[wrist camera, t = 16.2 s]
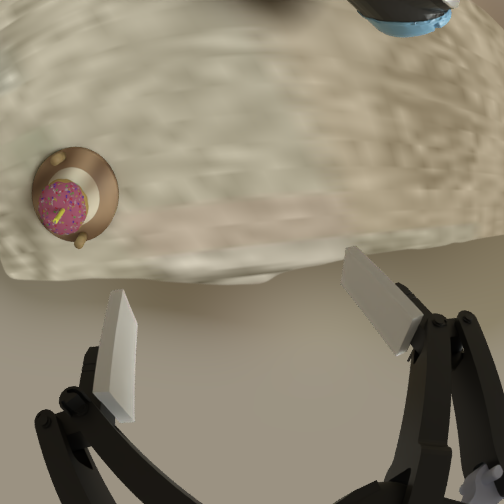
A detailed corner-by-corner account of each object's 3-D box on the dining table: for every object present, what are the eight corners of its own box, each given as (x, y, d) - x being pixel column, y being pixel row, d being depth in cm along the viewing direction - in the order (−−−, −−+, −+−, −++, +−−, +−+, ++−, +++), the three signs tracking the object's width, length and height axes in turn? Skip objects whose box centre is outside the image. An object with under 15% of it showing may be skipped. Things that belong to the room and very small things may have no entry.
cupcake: (80, 161, 35) (50, 185, 25) (104, 207, 40) (84, 242, 30) (41, 188, 35) (7, 218, 25) (66, 229, 40) (40, 269, 30)
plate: (21, 194, 35) (9, 203, 32) (76, 126, 34) (66, 129, 30) (78, 254, 44) (72, 267, 40) (138, 197, 42) (134, 207, 39)
